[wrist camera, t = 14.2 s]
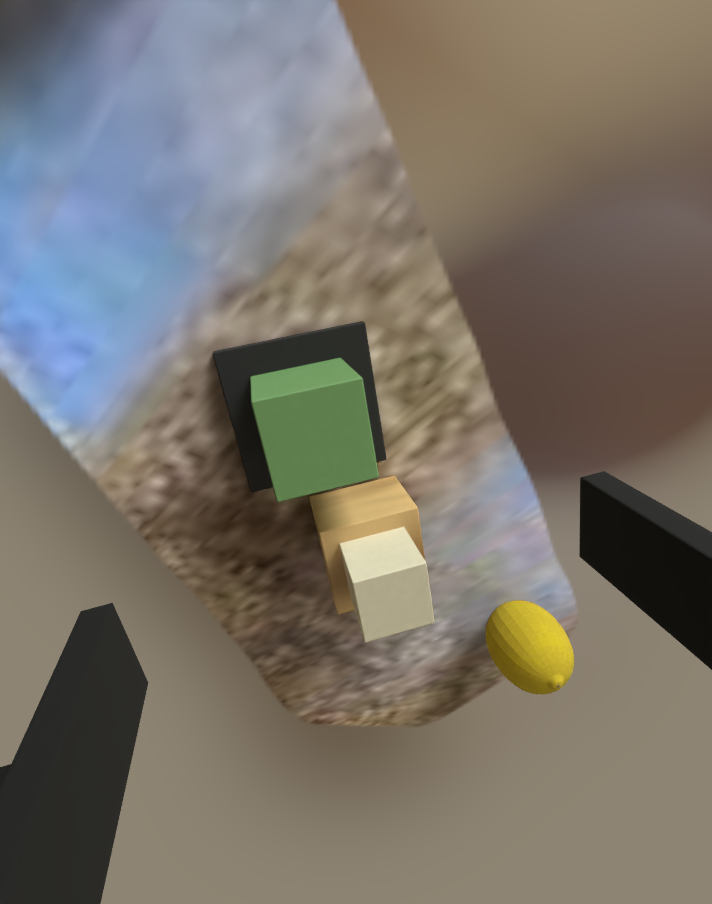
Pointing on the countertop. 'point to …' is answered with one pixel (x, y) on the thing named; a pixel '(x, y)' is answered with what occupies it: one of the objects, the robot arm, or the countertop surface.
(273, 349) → the coaster
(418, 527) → the maple block
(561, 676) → the lemon
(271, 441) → the green block
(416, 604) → the cream block
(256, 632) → the countertop surface
